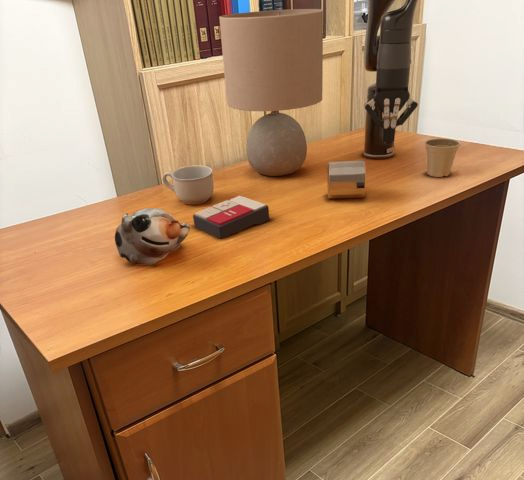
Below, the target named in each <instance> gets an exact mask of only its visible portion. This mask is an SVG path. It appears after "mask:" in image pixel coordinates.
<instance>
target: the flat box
mask: <svg viewBox="0 0 524 480" xmlns="http://www.w3.org/2000/svg"><path fill="white" fill-rule="evenodd" d="M192 219H193V224H194V225H193V226H194V227H195V228H197V229H198V230H201V231H203V232H206V233H207V234H209V235H213V236H214V237H217V238H218V239H224V238H226V237H228V236H231V235H233V234H236V233H237V232H240V231H242V230H245V229H247V228H248V227H251V226H254V225H258V226H259V225H261V224H263V223H266V222H267V221H268V222H269V221H270V208H269V205H267V204H266V203H263V202H260V201H257V200H254V199H250V198H248V197H245V196H243V195H238V196H235V197H233V198H230V199H226V200H224V201H221V202H219V203H216V204H214V205H212V206H209V207H205V208H203V209H200V210H198V211H195V213H194V214H193V215H192Z"/></svg>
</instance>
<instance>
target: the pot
mask: <svg viewBox="0 0 524 480" xmlns="http://www.w3.org/2000/svg"><path fill="white" fill-rule="evenodd" d="M366 174H367V172H366V162H365V160H344V161H343V160H341V161H328V162H327V184H326V185H327V198H328V199H329V200H332V199H333V200H334V199H359V198H360V199H361V198H364V197H365V193H366V177H367V176H366Z"/></svg>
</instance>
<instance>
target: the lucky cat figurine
mask: <svg viewBox="0 0 524 480" xmlns="http://www.w3.org/2000/svg"><path fill="white" fill-rule="evenodd" d="M190 230H191V226H190V224H189V223H188V224H187V223H186V222H179V221H178V220H177V219H176V218H175V217H174V216H173V215H172V214H170V213H169V212H168V211H165V210H163V209H161V208H156V207H155V208H148V207H147V208H142V209H138V210H136V211H135V212H134V213H133V214H132V215H130V214H128V213H127V212H126V213H124V214H123V216H122V217H121V224H120V225H118V226H117V228H116V229H115V234H114V243H115V246H116V250H117V251H118V255H119V257H120V258H122V259H124V258H125V259H126V260H127V262H129V263H130V265H138V266H139V265H140V266H154V265H155V264H156V263H158V262H159V261H161V260H162V261H163V260H164V259H165V258H166V257H167V256H168V255H169V254H170V253H173V252H174V251H176V250H178V249H179V248H181V244H182V242H183V241H185V239H186V238H187V237H188V235H189V233H190Z"/></svg>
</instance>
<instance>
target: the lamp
mask: <svg viewBox="0 0 524 480" xmlns="http://www.w3.org/2000/svg"><path fill="white" fill-rule="evenodd" d="M219 28H220V38H221V51H222V62H223V74H224V75H223V76H224V85H225V99H226V105H227V107H229V108H230V109H233V110H237V111H244V112H245V111H246V112H270V113H267V114H264V115H262V116H260V117H259V118H258V119H257V120H256V121H255V122H254V123H253V124H252V126H251V127H250V129H249V132H248V135H247V138H246V147H245V149H246V151H245V152H246V158H247V161H248V164H249V165H250V167H251V168H252V169H253V170H254V171H255V172H257V173H258V174H261V175H263V176H269V177H281V176H287V175H290V174H293V173H294V172H295V173H296V172H297V171H298V170H299V169H301V168H302V166H303V165H304V164H305V161H306V160H307V159H306V158H307V153H308V144H307V137H306V135H305V132H304V129H303V127H302V126H301V124H300V123H299V122H298V121H297V120H296V119H295V118H294V117H292V116H290V115H289V114H286V113H283V112H281V111H290V110H298V109H303V108H307V107H311V106H314V105H317V104H319V103H320V102H322V101H323V76H324V75H323V74H324V73H323V71H324V70H323V68H324V67H323V65H324V64H323V63H324V62H323V61H324V60H323V59H324V58H323V57H324V55H323V53H324V52H323V51H324V48H323V47H324V10H323V9H319V8H294V9H293V8H291V9H273V10H272V9H271V10H260V11H249V12H248V11H247V12H239V13H231V14H225V15H220V16H219Z"/></svg>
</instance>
